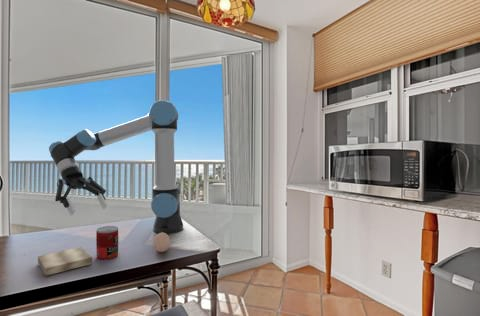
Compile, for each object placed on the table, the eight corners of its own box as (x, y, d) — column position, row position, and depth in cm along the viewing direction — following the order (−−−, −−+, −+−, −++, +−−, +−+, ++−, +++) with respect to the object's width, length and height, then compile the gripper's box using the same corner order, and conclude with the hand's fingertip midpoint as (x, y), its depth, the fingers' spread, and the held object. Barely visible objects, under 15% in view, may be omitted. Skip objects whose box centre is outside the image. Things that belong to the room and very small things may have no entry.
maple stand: (81, 254, 110) (81, 246, 110) (92, 265, 100) (92, 257, 100) (38, 264, 100) (37, 256, 100) (45, 277, 90) (45, 268, 90)
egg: (172, 248, 117) (172, 230, 117) (167, 254, 110) (167, 235, 110) (156, 248, 117) (156, 230, 117) (151, 254, 111) (151, 235, 110)
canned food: (110, 261, 104) (110, 232, 103) (91, 259, 105) (91, 230, 105) (122, 253, 111) (122, 226, 111) (105, 251, 113) (105, 225, 113)
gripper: (94, 174, 132) (113, 210, 125) (34, 179, 111) (53, 221, 104) (100, 164, 130) (120, 199, 122) (40, 166, 108) (61, 209, 101)
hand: (90, 210), depth 113 cm, fingers open, 13 cm apart
